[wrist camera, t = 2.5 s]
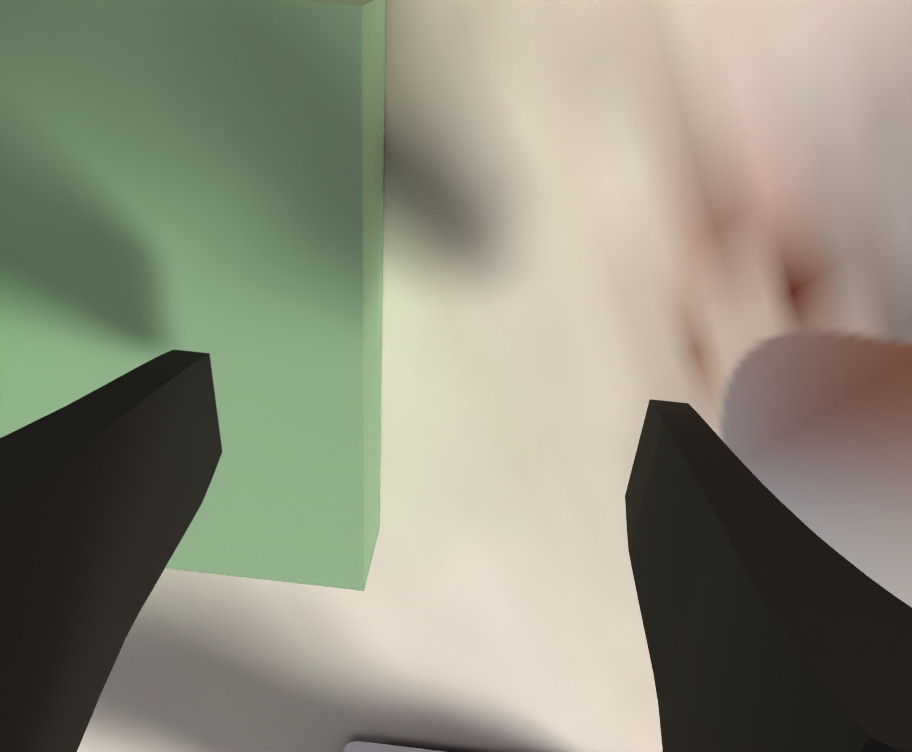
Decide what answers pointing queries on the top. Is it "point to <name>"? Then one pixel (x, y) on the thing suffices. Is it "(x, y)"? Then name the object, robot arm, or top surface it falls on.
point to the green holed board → (208, 248)
